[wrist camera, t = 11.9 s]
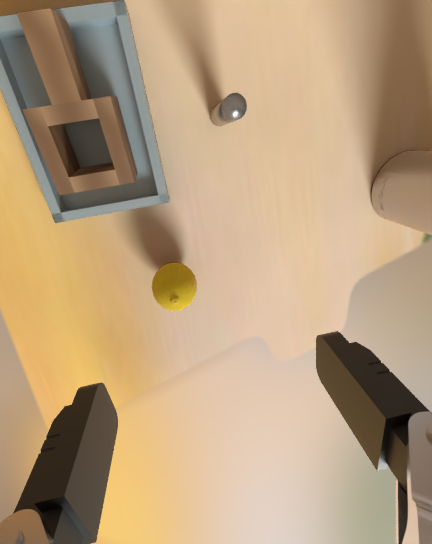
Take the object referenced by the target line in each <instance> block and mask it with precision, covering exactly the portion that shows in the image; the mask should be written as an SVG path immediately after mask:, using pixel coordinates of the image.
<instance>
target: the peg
mask: <svg viewBox="0 0 432 544" xmlns="http://www.w3.org/2000/svg"><path fill="white" fill-rule="evenodd" d="M246 107H247V105H246V101H245V99H244V97H243V96H242V95H241V94H239V93H232V94H230V95H228V96H227V97H226V98H225V99H224V100H222V101H221V102H220V103H219V104H218V105H217V106H216V107H214V108H213V109H212V111H211V114H210V119H211V121H212V123H213V124H214V125H216V126H222V125H225V124H227V123H230V122H233V121H235V120H238V119H240V118H242V117H243V115H244V114H245V112H246Z"/></svg>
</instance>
